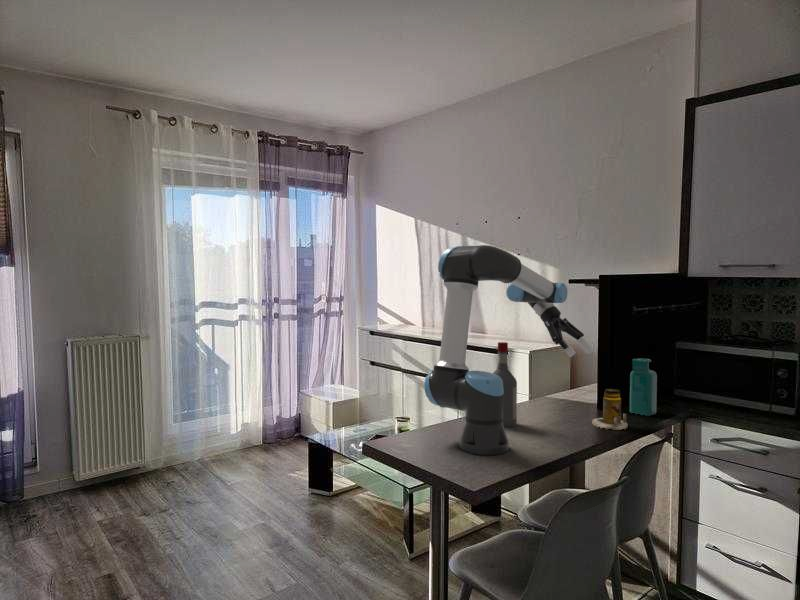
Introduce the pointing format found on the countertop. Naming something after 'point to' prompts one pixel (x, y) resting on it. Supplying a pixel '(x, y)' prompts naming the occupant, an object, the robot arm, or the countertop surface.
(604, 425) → the flange base
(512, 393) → the liquor
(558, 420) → the countertop surface
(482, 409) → the robot arm
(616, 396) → the condiment
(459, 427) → the countertop surface
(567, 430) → the countertop surface
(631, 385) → the teal bottle
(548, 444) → the countertop surface
